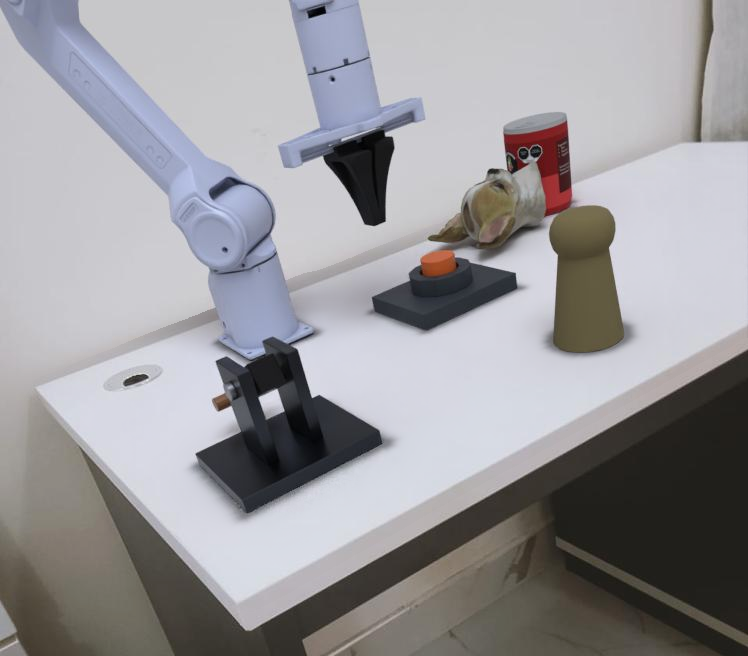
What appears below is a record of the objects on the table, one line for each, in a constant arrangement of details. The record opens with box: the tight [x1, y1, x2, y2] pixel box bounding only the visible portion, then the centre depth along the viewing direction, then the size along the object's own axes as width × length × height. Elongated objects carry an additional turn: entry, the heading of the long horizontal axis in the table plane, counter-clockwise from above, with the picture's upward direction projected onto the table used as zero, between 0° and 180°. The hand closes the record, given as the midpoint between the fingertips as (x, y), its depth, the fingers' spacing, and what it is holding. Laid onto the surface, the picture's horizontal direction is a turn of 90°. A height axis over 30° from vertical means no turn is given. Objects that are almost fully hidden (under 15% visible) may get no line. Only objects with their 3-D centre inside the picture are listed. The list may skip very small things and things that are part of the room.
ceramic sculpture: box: [427, 161, 546, 250], centre depth 92 cm, size 11×9×15 cm
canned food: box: [502, 111, 573, 217], centre depth 98 cm, size 8×8×11 cm
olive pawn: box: [548, 204, 625, 353], centre depth 63 cm, size 6×6×11 cm
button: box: [419, 249, 457, 276], centre depth 79 cm, size 4×4×2 cm
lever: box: [211, 353, 287, 412], centre depth 60 cm, size 10×5×2 cm, turn 32°
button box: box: [371, 256, 518, 331], centre depth 80 cm, size 10×12×4 cm
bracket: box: [194, 336, 383, 514], centre depth 58 cm, size 10×12×9 cm
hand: (375, 223), depth 73 cm, fingers closed
